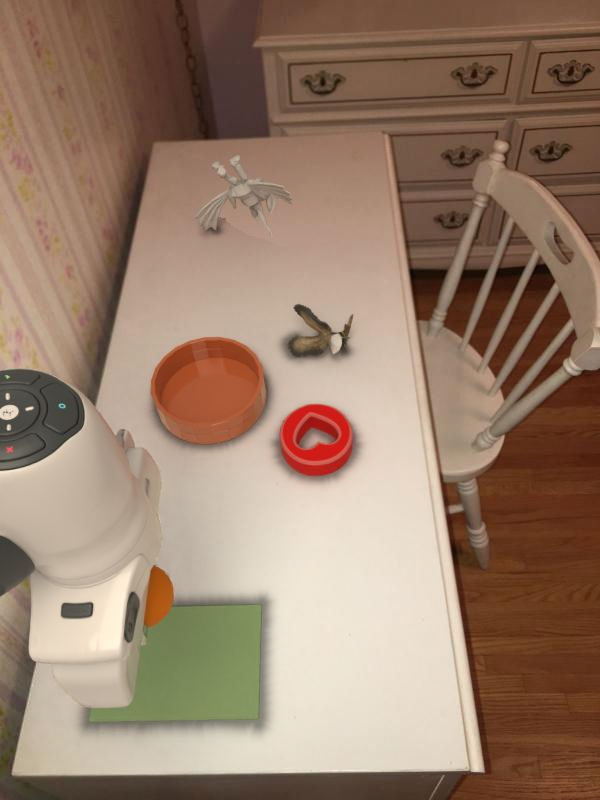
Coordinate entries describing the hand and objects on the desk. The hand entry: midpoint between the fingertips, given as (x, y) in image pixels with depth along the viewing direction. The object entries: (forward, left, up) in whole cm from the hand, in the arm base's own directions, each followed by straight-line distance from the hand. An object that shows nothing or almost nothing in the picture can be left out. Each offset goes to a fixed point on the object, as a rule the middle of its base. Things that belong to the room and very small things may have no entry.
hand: (143, 599), depth 58 cm
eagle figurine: (+41, +23, -17) cm, 50 cm away
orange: (0, 0, -2) cm, 2 cm away
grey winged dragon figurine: (+51, +53, -17) cm, 76 cm away
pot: (+23, +26, -17) cm, 39 cm away
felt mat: (-1, -1, -17) cm, 17 cm away
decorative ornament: (+29, +10, -17) cm, 36 cm away
